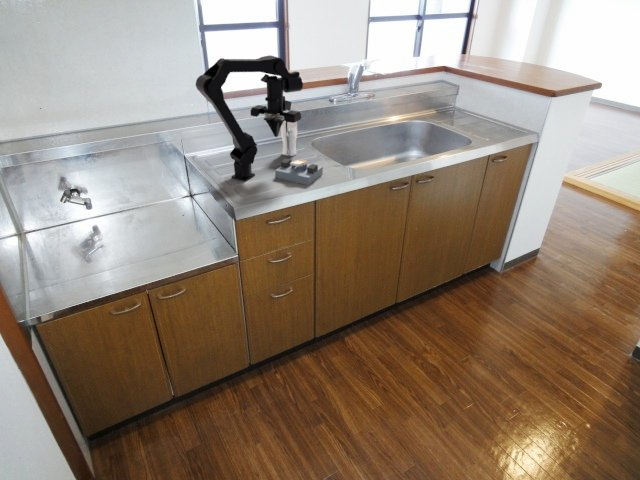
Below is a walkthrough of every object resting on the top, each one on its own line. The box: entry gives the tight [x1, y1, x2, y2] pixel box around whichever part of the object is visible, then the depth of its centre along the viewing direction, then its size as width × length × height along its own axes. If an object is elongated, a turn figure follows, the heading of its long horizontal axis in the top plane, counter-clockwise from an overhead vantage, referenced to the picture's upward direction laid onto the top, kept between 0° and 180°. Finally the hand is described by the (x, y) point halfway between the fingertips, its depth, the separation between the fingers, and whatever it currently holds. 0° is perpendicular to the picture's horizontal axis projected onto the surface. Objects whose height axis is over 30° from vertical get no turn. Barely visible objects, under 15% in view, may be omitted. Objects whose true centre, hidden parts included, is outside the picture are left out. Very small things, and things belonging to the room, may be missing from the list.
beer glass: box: [280, 121, 298, 157], centre depth 178 cm, size 7×7×15 cm
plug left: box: [280, 158, 292, 168], centre depth 162 cm, size 4×2×2 cm, turn 154°
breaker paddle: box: [290, 159, 309, 166], centre depth 159 cm, size 8×4×1 cm, turn 154°
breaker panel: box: [274, 159, 324, 186], centre depth 160 cm, size 12×14×5 cm
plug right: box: [307, 163, 319, 174], centre depth 158 cm, size 4×2×2 cm, turn 154°
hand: (276, 136), depth 160 cm, fingers closed
